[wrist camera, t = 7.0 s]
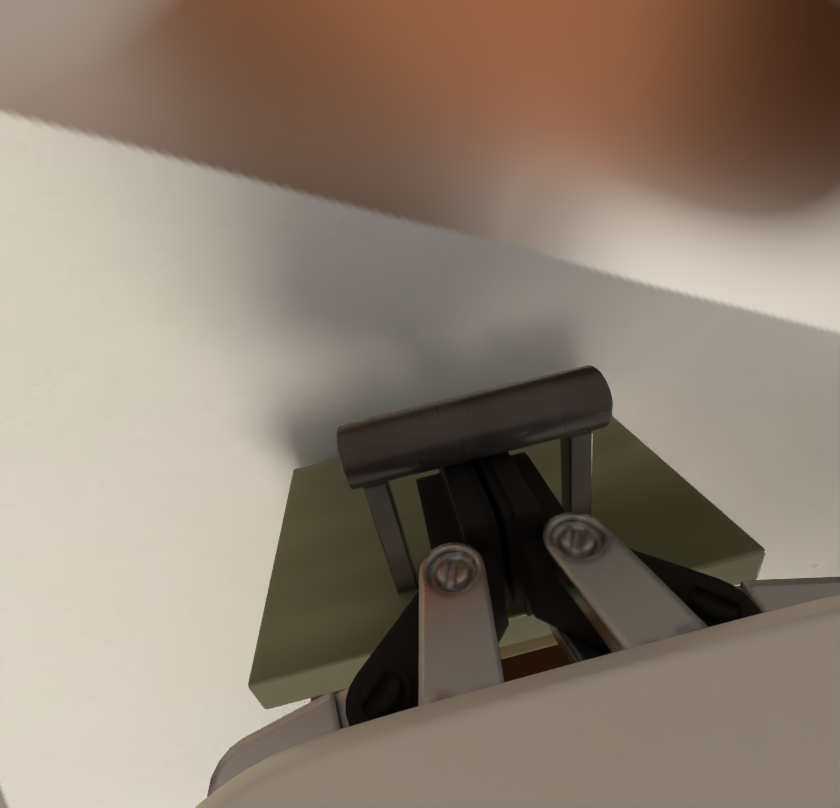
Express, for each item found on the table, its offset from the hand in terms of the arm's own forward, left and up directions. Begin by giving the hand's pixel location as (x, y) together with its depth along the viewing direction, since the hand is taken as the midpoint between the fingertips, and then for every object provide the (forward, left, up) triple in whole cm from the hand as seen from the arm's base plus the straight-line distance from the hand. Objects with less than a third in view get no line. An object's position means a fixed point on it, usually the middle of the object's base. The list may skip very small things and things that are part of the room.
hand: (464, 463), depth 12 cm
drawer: (0, +8, -5) cm, 10 cm away
